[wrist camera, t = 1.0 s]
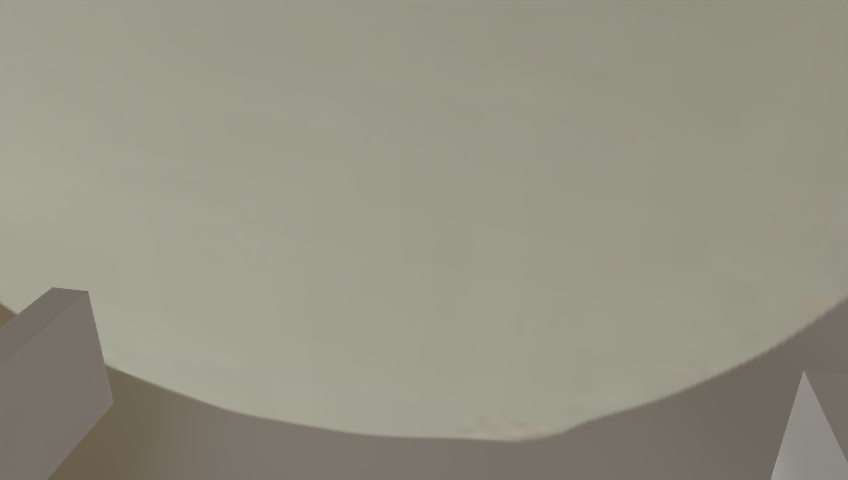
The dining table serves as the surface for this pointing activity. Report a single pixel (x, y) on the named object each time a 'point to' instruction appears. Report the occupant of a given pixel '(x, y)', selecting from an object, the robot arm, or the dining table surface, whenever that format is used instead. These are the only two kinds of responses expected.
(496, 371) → the dining table surface
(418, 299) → the dining table surface
